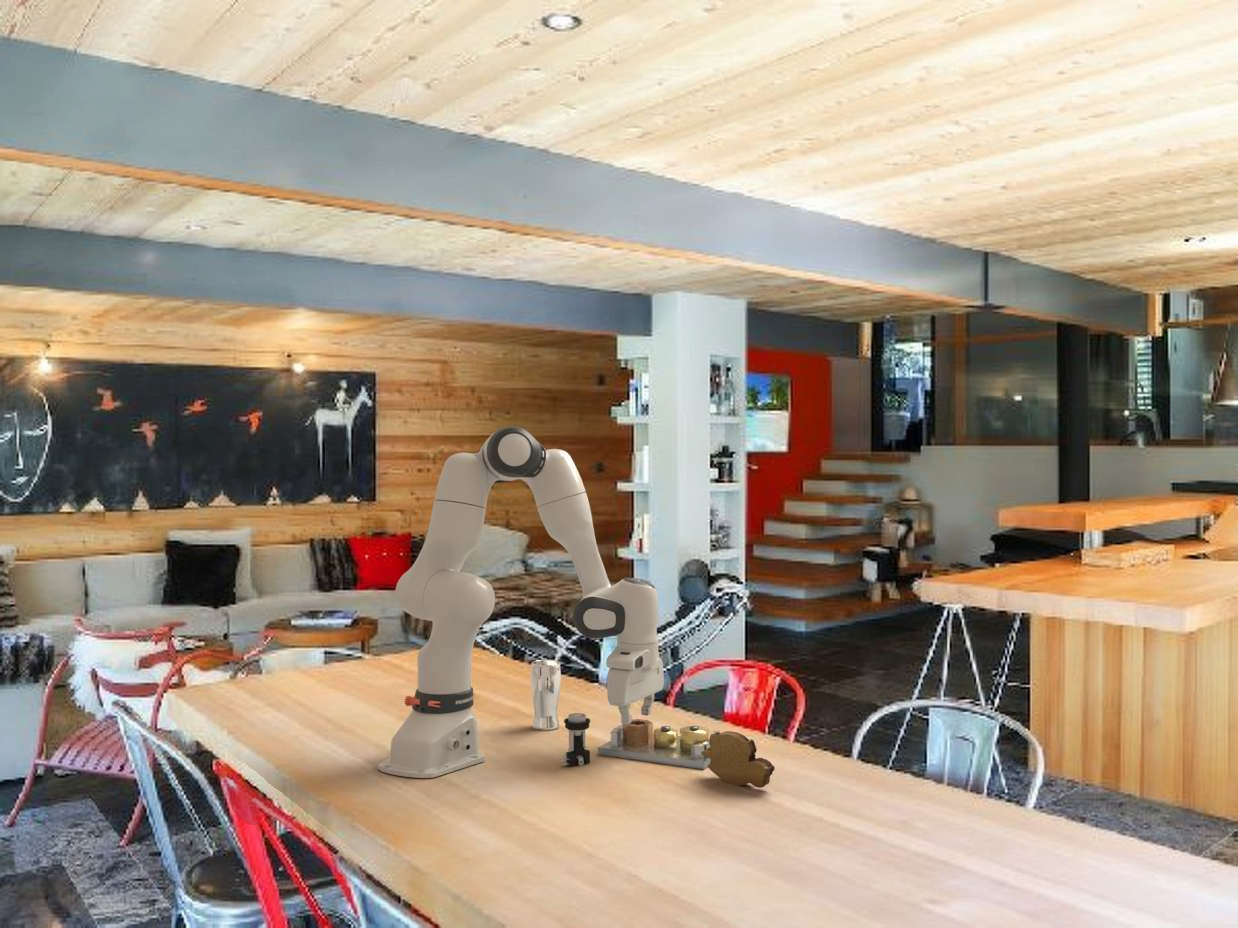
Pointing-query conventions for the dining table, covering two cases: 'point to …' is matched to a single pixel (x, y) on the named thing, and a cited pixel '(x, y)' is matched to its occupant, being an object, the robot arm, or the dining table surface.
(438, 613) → the robot arm
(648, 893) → the dining table surface
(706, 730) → the carrier
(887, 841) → the dining table surface
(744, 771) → the wooden carving
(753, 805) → the dining table surface
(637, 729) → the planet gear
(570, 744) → the push button
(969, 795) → the dining table surface
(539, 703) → the beer glass
